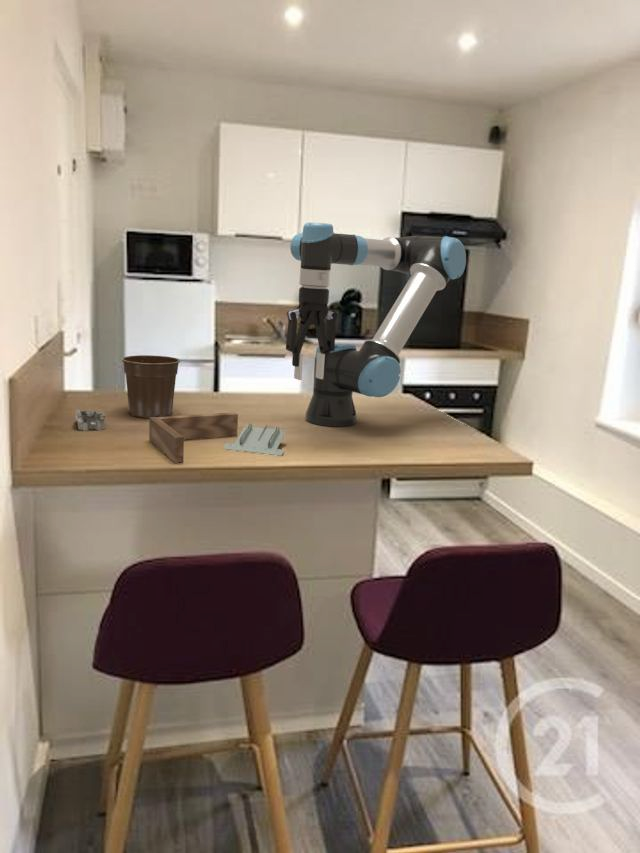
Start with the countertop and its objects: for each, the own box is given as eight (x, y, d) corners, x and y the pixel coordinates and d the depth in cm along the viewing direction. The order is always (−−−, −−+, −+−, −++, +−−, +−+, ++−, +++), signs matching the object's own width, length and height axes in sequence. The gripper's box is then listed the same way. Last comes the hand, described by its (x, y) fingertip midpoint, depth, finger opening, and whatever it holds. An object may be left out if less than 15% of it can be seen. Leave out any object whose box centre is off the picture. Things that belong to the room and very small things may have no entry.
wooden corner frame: (234, 434, 184) (234, 412, 182) (266, 454, 168) (267, 430, 166) (149, 440, 172) (149, 417, 171) (174, 463, 156) (175, 437, 154)
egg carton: (105, 431, 179) (105, 416, 178) (75, 432, 177) (75, 416, 176) (105, 421, 189) (105, 406, 188) (76, 421, 187) (76, 407, 186)
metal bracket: (238, 417, 179) (294, 423, 177) (239, 436, 182) (294, 442, 180) (220, 445, 167) (279, 452, 165) (221, 465, 170) (280, 472, 167)
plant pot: (131, 405, 208) (131, 352, 204) (184, 409, 208) (185, 356, 204) (114, 418, 192) (113, 361, 188) (171, 422, 192) (172, 365, 188)
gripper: (288, 287, 164) (283, 382, 169) (353, 289, 173) (346, 380, 179) (274, 284, 170) (269, 377, 176) (338, 287, 180) (331, 374, 185)
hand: (308, 378), depth 177 cm, fingers open, 6 cm apart
